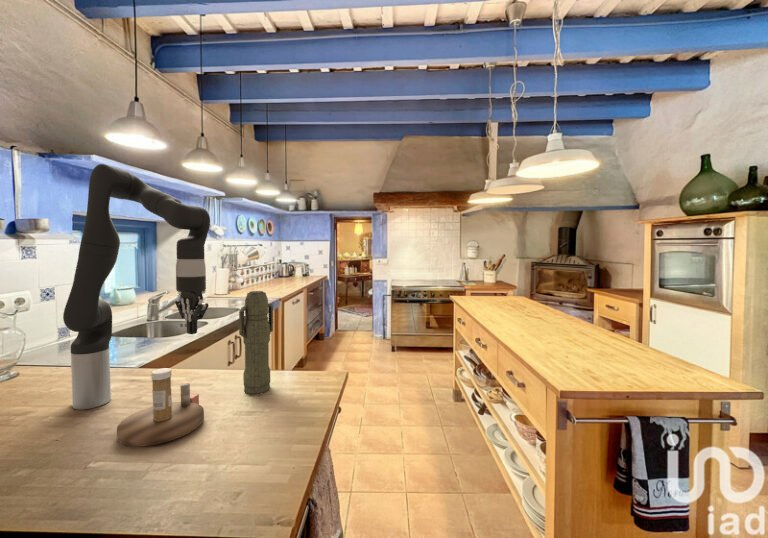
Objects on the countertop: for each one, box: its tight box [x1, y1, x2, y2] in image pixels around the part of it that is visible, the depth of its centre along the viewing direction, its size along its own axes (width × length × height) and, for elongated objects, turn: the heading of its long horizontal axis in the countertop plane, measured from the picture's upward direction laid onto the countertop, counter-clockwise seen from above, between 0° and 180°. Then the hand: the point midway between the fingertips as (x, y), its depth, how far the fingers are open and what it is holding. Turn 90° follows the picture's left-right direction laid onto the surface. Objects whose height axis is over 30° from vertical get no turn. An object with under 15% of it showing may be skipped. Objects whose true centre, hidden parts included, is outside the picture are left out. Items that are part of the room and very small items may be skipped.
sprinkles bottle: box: [151, 367, 173, 422], centre depth 93 cm, size 5×5×14 cm
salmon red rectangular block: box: [190, 393, 200, 405], centre depth 105 cm, size 3×1×4 cm, turn 171°
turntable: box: [116, 382, 205, 447], centre depth 93 cm, size 20×20×8 cm
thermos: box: [238, 290, 274, 396], centre depth 119 cm, size 9×12×35 cm
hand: (192, 333), depth 99 cm, fingers closed
